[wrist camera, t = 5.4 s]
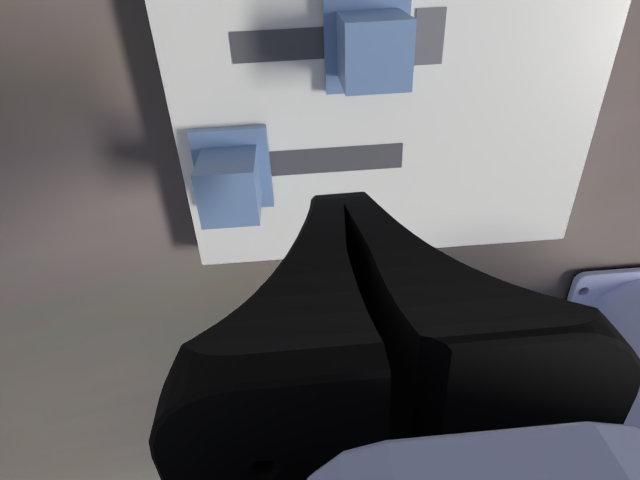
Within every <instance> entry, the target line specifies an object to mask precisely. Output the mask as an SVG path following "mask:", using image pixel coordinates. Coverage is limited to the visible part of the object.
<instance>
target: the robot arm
mask: <svg viewBox="0 0 640 480" xmlns="http://www.w3.org/2000/svg"><path fill="white" fill-rule="evenodd" d="M582 288H583V289H582ZM580 289H581V290H580ZM149 446H150V451H151V456H152V459H153V462H154V464H155V466H156V469H157V471H158V474H159V476H160V478H161V480H640V267H639V268H626V269H613V270H600V271H587V272H581V273H579V274H577V275H576V276H575V277H574V279H573V282H572V285H571V288H570V291H569V294H568V298H567V300H564V299H560V298H556V297H552V296H548V295H544V294H541V293H537V292H534V291H531V290H528V289H525V288H522V287H519V286H516V285H513V284H510V283H508V282H505V281H502V280H500V279H497V278H494V277H492V276H490V275H487V274H485V273H483V272H480V271H478V270H476V269H474V268H471V267H469V266H467V265H465V264H463V263H461V262H459V261H457V260H455V259H453V258H452V257H450V256H448V255H446V254H444V253H443V252H441V251H439V250H437V249H436V248H434V247H433V246H431V245H429V244H428V243H426V242H425V241H423V240H422V239H421V238H419V237H418V236H416V235H415V234H413V233H412V232H411V231H409V230H408V229H407V228H405V227H404V226H403V225H402V224H400V223H399V222H398V221H397V220H395V219H394V218H393V217H392V216H391V215H389V214H388V213H387V212H386V211H385V210H384V209H383V208H382V207H381V206H380V205H378V204H377V203H376V202H375V201H374V200H373V199H372V198H371V197H370V196H369V195H368V194H366V193H365V192H351V193H338V194H325V195H315V196H314V197H313V198H312V199H311V204H310V208H309V211H308V214H307V217H306V219H305V222H304V224H303V226H302V228H301V230H300V232H299V234H298V236H297V238H296V240H295V241H294V243H293V245H292V246H291V248H290V250H289V251H288V253H287V255H286V256H285V258H284V259H283V260H282V262H281V263H280V265H279V266H278V267H277V269H276V270H275V271H274V272H273V274H272V275H271V276H270V277H269V278H268V279H267V281H266V282H265V283H264V284H263V285H262V286H261V287H260V288H259V289H258V290H257V291H256V292H255V293H254V294H253V295H252V296H251V297H250V298H249V299H248V300H247V301H246V302H244V303H243V304H242V305H241V306H240V307H239V308H237V309H236V310H235V311H233V312H232V313H231V314H229V315H228V316H227V317H225V318H224V319H223V320H221V321H220V322H218V323H217V324H215V325H214V326H212V327H210V328H209V329H207V330H206V331H204V332H202V333H201V334H199V335H198V336H196V337H194V338H193V339H191V340H189V341H188V342H186V343H184V344H183V345H182V346H181V347H180V349H179V352H178V354H177V356H176V358H175V360H174V362H173V365H172V367H171V369H170V372H169V374H168V376H167V378H166V381H165V383H164V386H163V389H162V392H161V394H160V398H159V402H158V406H157V410H156V414H155V418H154V422H153V426H152V430H151V434H150V438H149Z"/></svg>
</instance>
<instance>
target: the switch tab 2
mask: <svg viewBox="0 0 640 480" xmlns="http://www.w3.org/2000/svg"><path fill="white" fill-rule="evenodd" d="M411 1H412V0H322V4H323V33H324V62H325V91H326V95H329V94H345V96H360V95H376V94H392V93H409V92H412V87H413V72H414V56H415V41H416V25H417V19H416V18H414V17H413V16H411Z"/></svg>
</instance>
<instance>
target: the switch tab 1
mask: <svg viewBox="0 0 640 480" xmlns="http://www.w3.org/2000/svg"><path fill="white" fill-rule="evenodd" d="M187 136H188V141H189V146H190V151H191V156H192V161H193V166H194V169H193V172H192V174H191V181H192V186H193V190H194V195H195V200H196V205H197V210H198V214H199V219H200V224H201V229H202V230H206V229H220V228H234V227H248V226H260V221H261V207H274V193H273V184H272V175H271V165H270V156H269V146H268V137H267V127H266V124H262V125H246V126H230V127H215V128H199V129H189V130H188V132H187Z"/></svg>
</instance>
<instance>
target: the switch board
mask: <svg viewBox="0 0 640 480" xmlns="http://www.w3.org/2000/svg"><path fill="white" fill-rule="evenodd" d="M630 3H631V0H412V1H411V16H413V17H414V18H416V19H417V25H416V41H415V56H414V72H413V87H412V92H409V93H392V94H376V95H360V96H345V94H329V95H326V91H325V62H324V33H323V4H322V0H145V4H146V9H147V13H148V18H149V23H150V27H151V32H152V36H153V41H154V46H155V50H156V55H157V59H158V64H159V68H160V73H161V78H162V82H163V87H164V91H165V96H166V101H167V105H168V110H169V114H170V119H171V123H172V128H173V133H174V137H175V142H176V146H177V151H178V156H179V160H180V165H181V169H182V174H183V178H184V183H185V188H186V192H187V197H188V201H189V206H190V211H191V215H192V220H193V224H194V229H195V234H196V238H197V243H198V247H199V252H200V256H201V261H202V265H210V264H224V263H237V262H251V261H264V260H278V259H284V258H285V256H286V255H287V253H288V251H289V250H290V248H291V246H292V245H293V243H294V241H295V240H296V238H297V236H298V234H299V232H300V230H301V228H302V226H303V224H304V222H305V219H306V217H307V214H308V211H309V208H310V204H311V199H312V198H313V197H314V196H315V195H325V194H338V193H351V192H365V193H366V194H368V195H369V196H370V197H371V198H372V199H373V200H374V201H375V202H376V203H377V204H378V205H380V206H381V207H382V208H383V209H384V210H385V211H386V212H387V213H388V214H389V215H391V216H392V217H393V218H394V219H395V220H397V221H398V222H399V223H400V224H402V225H403V226H404V227H405V228H407V229H408V230H409V231H411V232H412V233H413V234H415V235H416V236H418V237H419V238H421V239H422V240H423V241H425V242H426V243H428V244H429V245H431V246H433V247H434V248H442V247H455V246H469V245H482V244H496V243H510V242H523V241H537V240H551V239H563V238H564V234H565V231H566V227H567V224H568V220H569V217H570V213H571V210H572V206H573V203H574V199H575V196H576V192H577V189H578V185H579V182H580V178H581V175H582V171H583V168H584V164H585V161H586V157H587V154H588V150H589V147H590V143H591V140H592V136H593V133H594V129H595V126H596V122H597V119H598V115H599V112H600V108H601V105H602V101H603V98H604V94H605V91H606V87H607V84H608V80H609V77H610V73H611V70H612V66H613V62H614V59H615V55H616V52H617V48H618V45H619V41H620V38H621V34H622V31H623V27H624V24H625V20H626V17H627V13H628V10H629V6H630ZM262 124H266V127H267V137H268V146H269V156H270V165H271V175H272V184H273V193H274V207H261V221H260V226H248V227H234V228H220V229H206V230H202V229H201V224H200V219H199V214H198V210H197V205H196V200H195V195H194V190H193V186H192V181H191V174H192V172H193V169H194V166H193V161H192V156H191V151H190V146H189V141H188V136H187V132H188V130H189V129H199V128H215V127H230V126H246V125H262Z"/></svg>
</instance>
